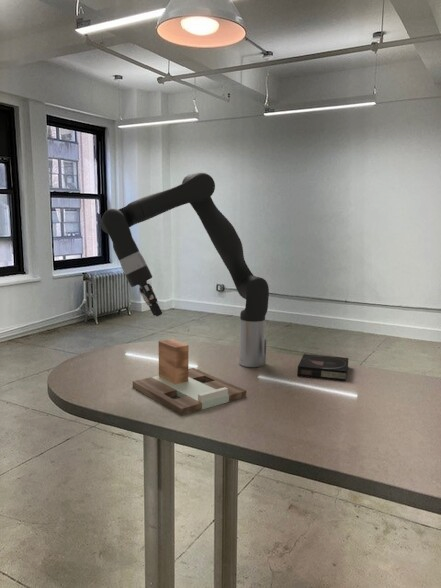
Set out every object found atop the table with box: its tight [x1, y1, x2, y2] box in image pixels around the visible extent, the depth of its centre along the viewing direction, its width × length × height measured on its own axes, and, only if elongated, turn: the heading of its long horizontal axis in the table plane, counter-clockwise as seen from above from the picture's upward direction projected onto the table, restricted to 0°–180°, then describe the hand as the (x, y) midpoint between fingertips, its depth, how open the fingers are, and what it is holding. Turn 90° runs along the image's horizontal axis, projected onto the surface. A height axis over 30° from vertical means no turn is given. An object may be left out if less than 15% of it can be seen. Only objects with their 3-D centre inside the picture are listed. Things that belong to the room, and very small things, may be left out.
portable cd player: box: [296, 353, 349, 382], centre depth 176 cm, size 16×17×4 cm
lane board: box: [132, 367, 247, 416], centre depth 154 cm, size 24×28×4 cm
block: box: [158, 338, 190, 384], centre depth 160 cm, size 5×10×12 cm, turn 39°
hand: (158, 314), depth 157 cm, fingers open, 8 cm apart
